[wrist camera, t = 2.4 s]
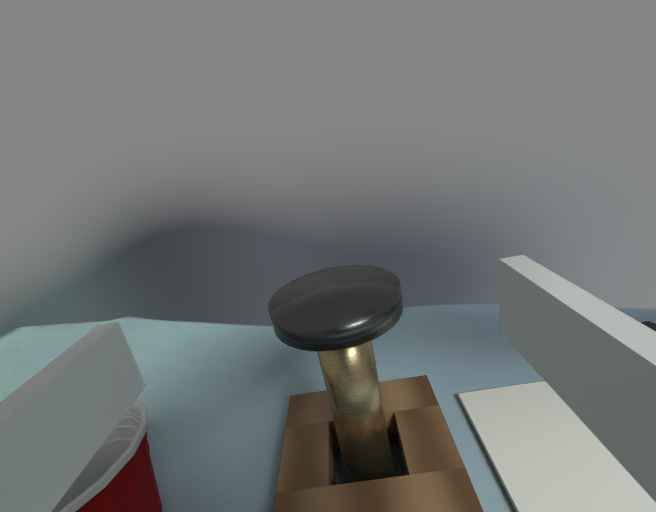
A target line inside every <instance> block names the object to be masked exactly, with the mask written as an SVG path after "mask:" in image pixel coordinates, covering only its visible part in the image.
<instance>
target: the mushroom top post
mask: <svg viewBox="0 0 656 512" xmlns="http://www.w3.org/2000/svg"><path fill="white" fill-rule="evenodd" d="M268 307H269V313H270V316H271V320H272V323H273V327H274V331H275V334H276V336H277V337H278V338H279V339H280V340H281V341H282V342H283V343H285V344H287V345H288V346H291V347H293V348H297V349H301V350H307V351H317V352H318V356H319V361H320V365H321V369H322V373H323V378H324V382H325V386H326V390H327V395H328V399H329V403H330V407H331V412H332V416H333V420H334V424H335V429H336V433H337V437H338V441H339V445H340V450H341V454H342V458H343V462H344V467H345V471H346V475H347V479H348V483H353V482H361V481H368V480H375V479H383V478H390V477H395V475H394V469H393V463H392V457H391V451H390V445H389V439H388V434H387V428H386V422H385V416H384V410H383V404H382V399H381V393H380V387H379V381H378V375H377V369H376V364H375V358H374V352H373V346H372V340H373V339H375V338H377V337H379V336H380V335H382V334H384V333H385V332H387V331H388V330H389V329H391V328H392V327H393V326H394V325H395V324H396V323H397V321H398V320H399V319H400V317H401V315H402V311H403V302H402V294H401V287H400V282H399V279H398V278H397V277H396V276H395V275H394V274H393V273H391V272H390V271H388V270H385V269H382V268H378V267H374V266H365V265H350V266H339V267H333V268H328V269H323V270H319V271H316V272H312V273H309V274H307V275H304V276H302V277H299V278H297V279H295V280H293V281H291V282H289V283H288V284H286V285H285V286H283V287H282V288H281V289H279V290H278V291H277V292H276V293H275V294H274V295H273V297H272V298H271V300H270V302H269V306H268Z"/></svg>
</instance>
